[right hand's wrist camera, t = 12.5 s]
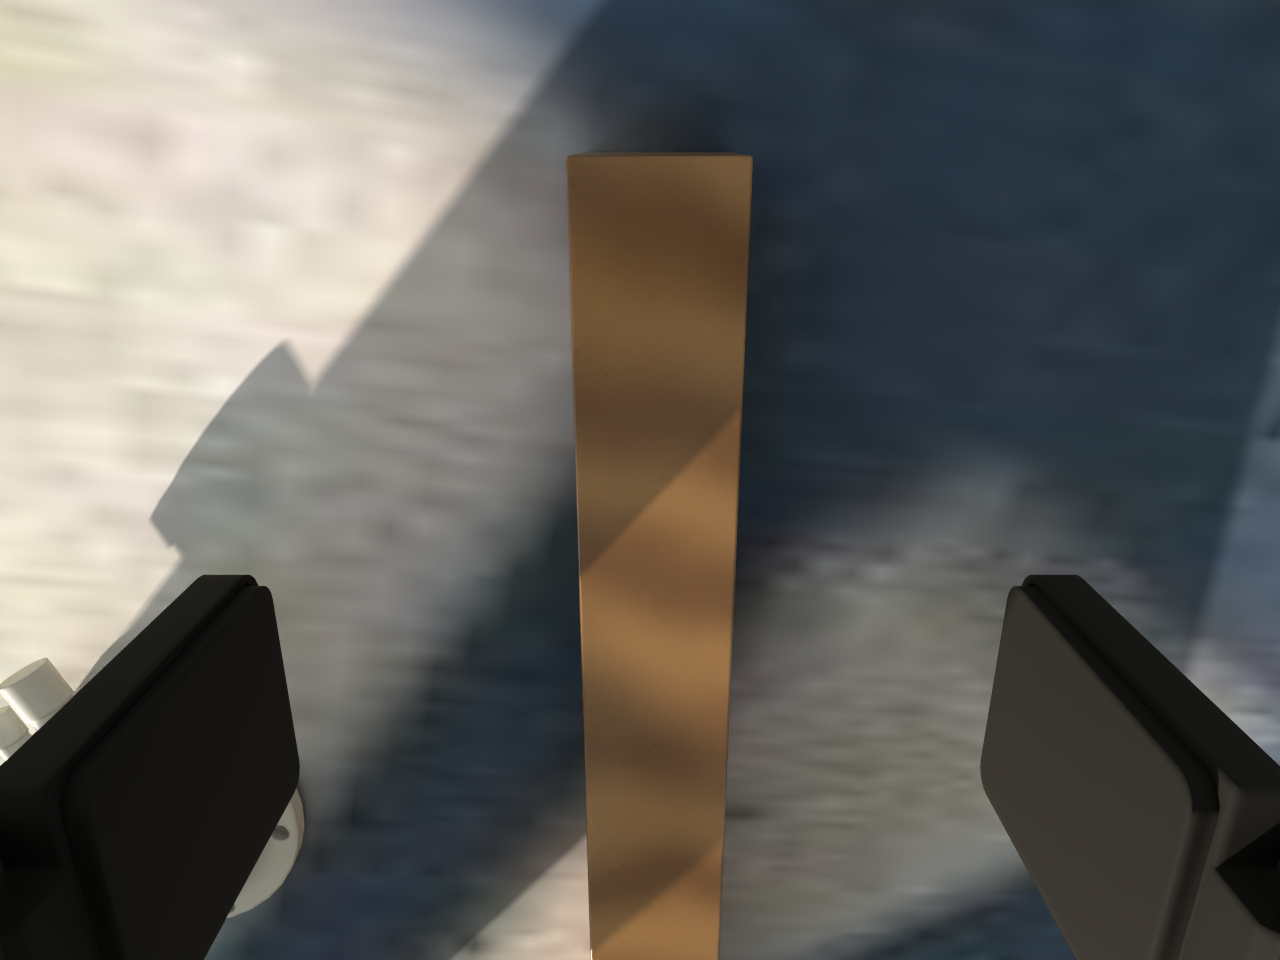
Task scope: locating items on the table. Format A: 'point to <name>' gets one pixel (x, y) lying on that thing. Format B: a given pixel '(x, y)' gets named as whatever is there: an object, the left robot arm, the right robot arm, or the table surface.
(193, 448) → the table surface
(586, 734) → the post
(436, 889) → the table surface
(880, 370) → the table surface
